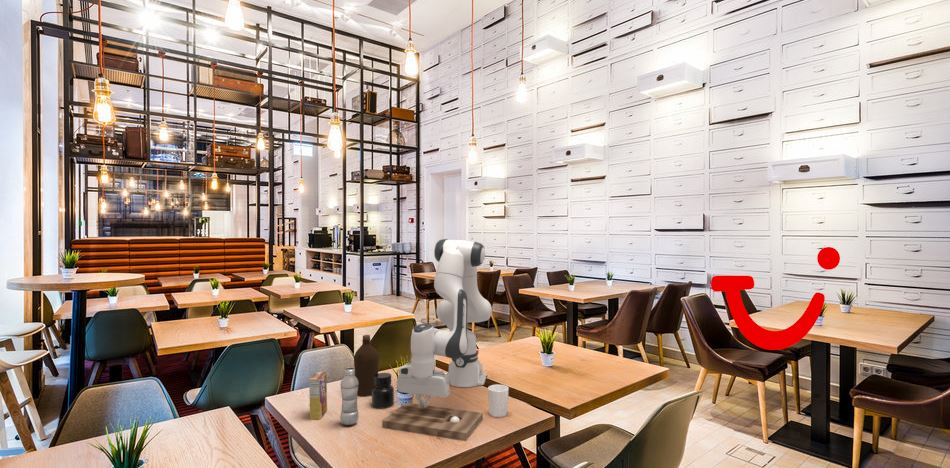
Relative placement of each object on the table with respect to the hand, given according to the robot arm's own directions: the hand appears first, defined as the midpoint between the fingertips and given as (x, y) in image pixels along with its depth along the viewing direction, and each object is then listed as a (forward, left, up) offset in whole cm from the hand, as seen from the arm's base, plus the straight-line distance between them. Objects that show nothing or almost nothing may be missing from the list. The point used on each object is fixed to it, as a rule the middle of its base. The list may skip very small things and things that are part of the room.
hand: (423, 406), depth 165 cm
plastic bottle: (+11, -24, -6) cm, 27 cm away
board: (+1, +5, -6) cm, 7 cm away
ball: (+1, +13, -4) cm, 14 cm away
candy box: (+8, -40, -6) cm, 42 cm away
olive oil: (-19, -36, -6) cm, 42 cm away
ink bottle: (-9, -22, -6) cm, 25 cm away
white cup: (-15, +25, -6) cm, 29 cm away
